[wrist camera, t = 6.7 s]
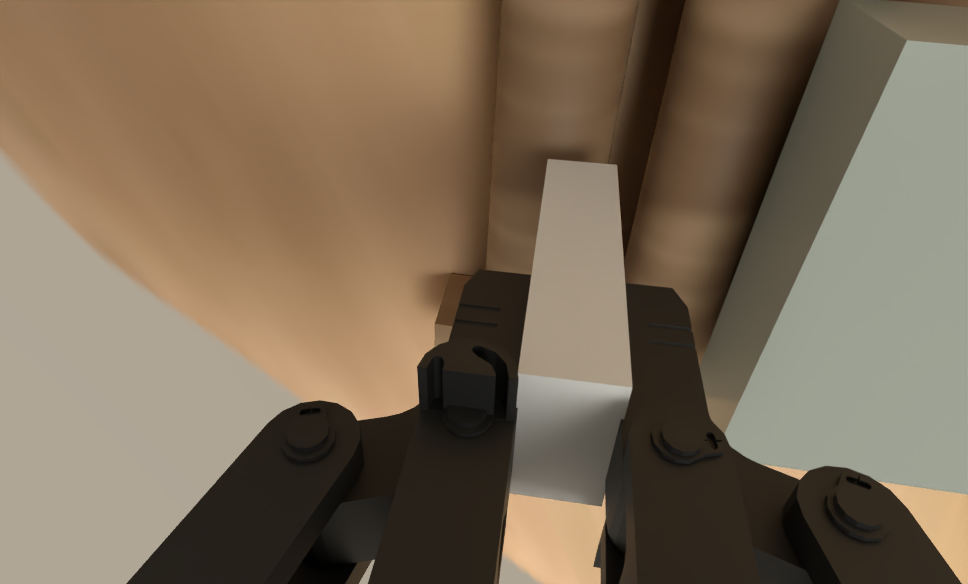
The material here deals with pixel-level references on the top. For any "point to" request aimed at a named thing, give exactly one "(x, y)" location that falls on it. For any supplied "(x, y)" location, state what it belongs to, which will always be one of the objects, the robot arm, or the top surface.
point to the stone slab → (860, 264)
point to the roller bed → (677, 138)
